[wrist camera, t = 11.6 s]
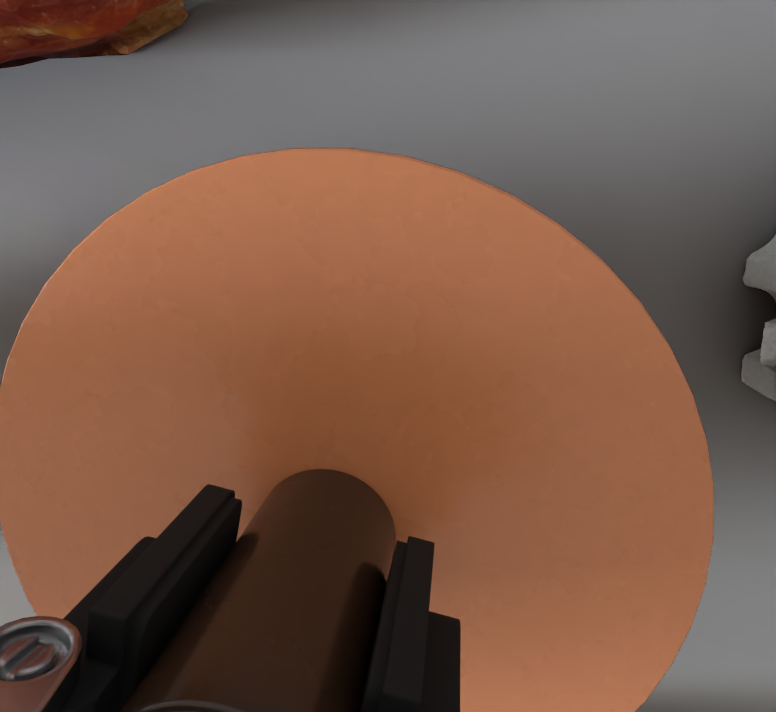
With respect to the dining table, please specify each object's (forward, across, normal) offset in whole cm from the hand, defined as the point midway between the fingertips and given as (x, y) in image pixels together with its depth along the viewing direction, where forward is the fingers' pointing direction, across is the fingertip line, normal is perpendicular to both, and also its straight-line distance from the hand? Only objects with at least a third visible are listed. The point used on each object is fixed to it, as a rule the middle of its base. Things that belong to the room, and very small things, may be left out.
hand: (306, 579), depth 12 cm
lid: (+2, 0, 0) cm, 2 cm away
